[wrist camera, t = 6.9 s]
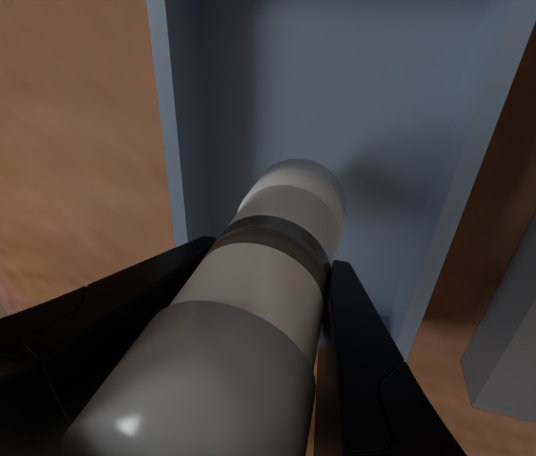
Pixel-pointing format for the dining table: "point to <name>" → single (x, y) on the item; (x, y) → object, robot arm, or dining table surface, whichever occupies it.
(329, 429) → the robot arm
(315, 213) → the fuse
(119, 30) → the dining table surface
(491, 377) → the fuse holder
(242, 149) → the parts tray
